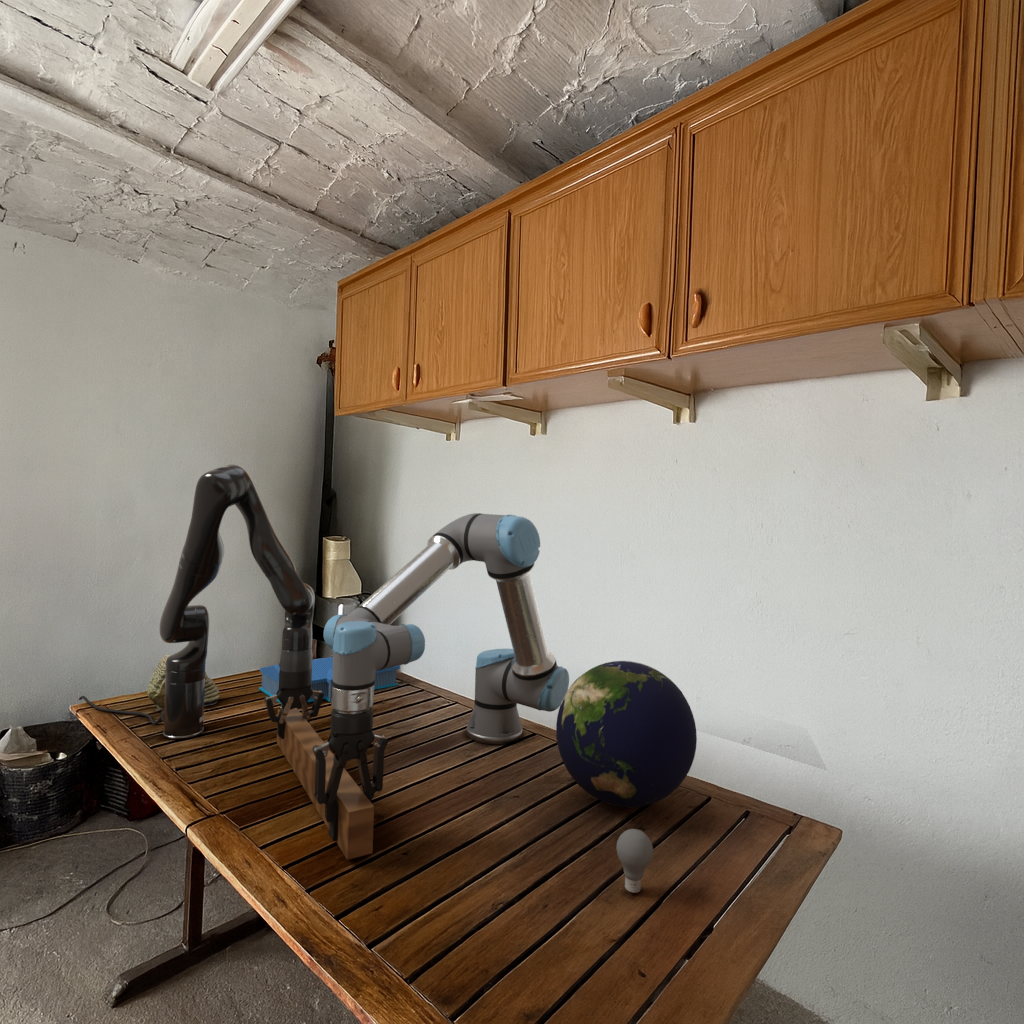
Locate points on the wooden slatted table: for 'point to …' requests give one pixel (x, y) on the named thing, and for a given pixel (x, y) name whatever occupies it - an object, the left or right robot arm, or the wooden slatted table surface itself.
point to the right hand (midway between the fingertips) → (347, 833)
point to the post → (351, 799)
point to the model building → (323, 678)
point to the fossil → (158, 687)
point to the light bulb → (634, 857)
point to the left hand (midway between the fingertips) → (293, 735)
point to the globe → (626, 734)
